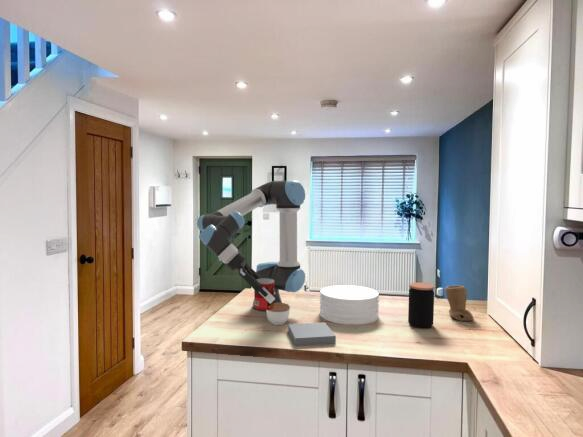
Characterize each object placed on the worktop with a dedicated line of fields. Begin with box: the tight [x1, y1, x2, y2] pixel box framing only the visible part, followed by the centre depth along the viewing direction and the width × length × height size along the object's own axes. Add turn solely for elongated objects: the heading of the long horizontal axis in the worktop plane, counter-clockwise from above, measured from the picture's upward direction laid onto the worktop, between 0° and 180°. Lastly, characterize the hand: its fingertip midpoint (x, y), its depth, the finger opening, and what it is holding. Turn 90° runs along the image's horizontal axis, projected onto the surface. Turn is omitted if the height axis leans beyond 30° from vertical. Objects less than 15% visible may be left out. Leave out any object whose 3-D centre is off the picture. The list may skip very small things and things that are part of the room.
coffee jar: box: [407, 282, 435, 329], centre depth 165 cm, size 11×11×18 cm
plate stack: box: [319, 284, 380, 325], centre depth 179 cm, size 28×28×12 cm
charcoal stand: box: [287, 321, 337, 347], centre depth 150 cm, size 16×16×3 cm
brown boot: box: [444, 284, 475, 322], centre depth 177 cm, size 15×12×15 cm
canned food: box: [253, 278, 274, 311], centre depth 147 cm, size 8×8×11 cm
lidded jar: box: [265, 302, 291, 326], centre depth 166 cm, size 11×11×9 cm
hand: (272, 298), depth 147 cm, fingers closed on canned food, 8 cm apart
